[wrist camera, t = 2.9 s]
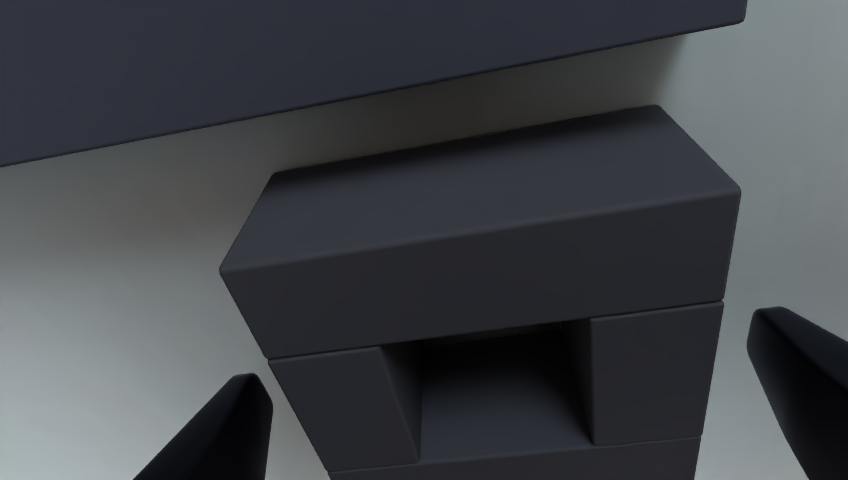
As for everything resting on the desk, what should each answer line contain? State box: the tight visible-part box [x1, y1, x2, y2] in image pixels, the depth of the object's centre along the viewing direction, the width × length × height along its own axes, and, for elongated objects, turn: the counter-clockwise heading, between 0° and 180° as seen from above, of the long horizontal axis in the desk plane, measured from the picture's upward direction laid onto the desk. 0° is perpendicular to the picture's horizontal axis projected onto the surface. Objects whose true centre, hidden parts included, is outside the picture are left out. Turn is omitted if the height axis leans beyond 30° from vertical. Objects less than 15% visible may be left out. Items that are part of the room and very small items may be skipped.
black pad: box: [219, 105, 741, 480], centre depth 10 cm, size 7×7×3 cm
